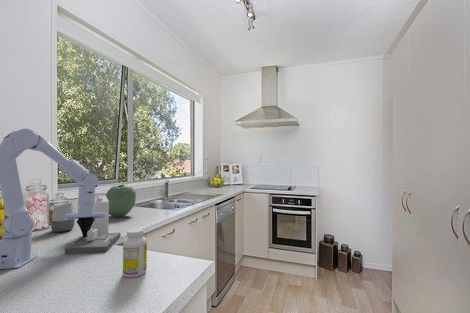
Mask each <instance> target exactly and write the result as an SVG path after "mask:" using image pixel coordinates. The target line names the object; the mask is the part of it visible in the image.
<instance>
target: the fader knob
mask: <svg viewBox="0 0 470 313" xmlns="http://www.w3.org/2000/svg"><path fill="white" fill-rule="evenodd" d="M97 237H98V229H91V230H89V231H88V232H87V241H93V240H95V239H96V238H97Z"/></svg>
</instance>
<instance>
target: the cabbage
mask: <svg viewBox="0 0 470 313" xmlns="http://www.w3.org/2000/svg"><path fill="white" fill-rule="evenodd" d="M105 196H106V197H107V199H108V200H109V216H111V217H114V218H122V217H124V216H126V215H128V214H130V212H131V211H132V209H133V208H134V207H135V205H136V199H137V191H136V190H135V189H134V188H133V187H132V186H131V185H129V184H128V183H124V184H120V185H113V186H111V187H110V188H109V189H108V190H107V192H106V193H105Z"/></svg>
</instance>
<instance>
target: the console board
mask: <svg viewBox="0 0 470 313" xmlns="http://www.w3.org/2000/svg"><path fill="white" fill-rule="evenodd" d="M120 238H121V232H108V233H98V237H97V238H96V239H95V240H93V241H87V237H83V235H82V236H79V237H78V238H76V239H75V240H74V241H73V242H72V243H71V244H69V245H68V246H66V247H65V248H64V255H71V254H72V255H73V254H75V255H76V254H87V253H107V252H108V251H109V250H110V249H111V248H112V247H113V245H115V243H117V241H119V239H120Z"/></svg>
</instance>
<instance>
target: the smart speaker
mask: <svg viewBox="0 0 470 313" xmlns="http://www.w3.org/2000/svg"><path fill="white" fill-rule="evenodd" d="M74 208H75V207H74V201H69V202H65V203H60V204H58V205H55V206H54V207H53V210H52V216H51V223H50V229H51V231H52V232H54V233H66V232H70V231H71V230H73V228H74V227H75V223H76V221H75V220H76V219H65V215H66V214H71V213H75V209H74Z"/></svg>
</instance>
